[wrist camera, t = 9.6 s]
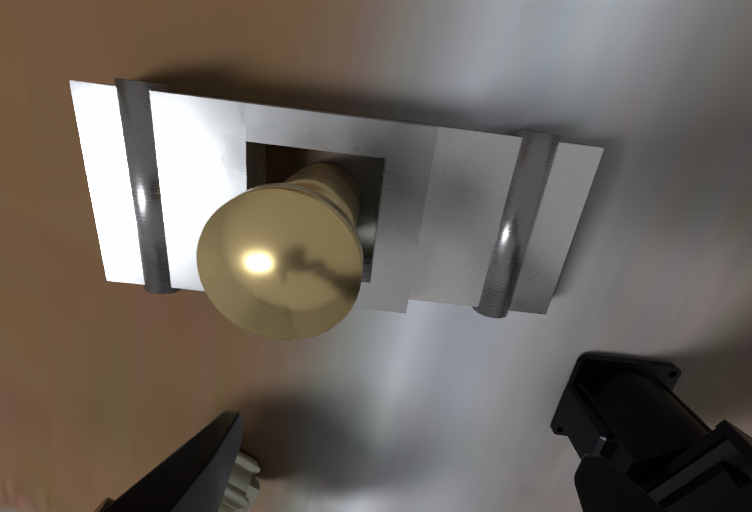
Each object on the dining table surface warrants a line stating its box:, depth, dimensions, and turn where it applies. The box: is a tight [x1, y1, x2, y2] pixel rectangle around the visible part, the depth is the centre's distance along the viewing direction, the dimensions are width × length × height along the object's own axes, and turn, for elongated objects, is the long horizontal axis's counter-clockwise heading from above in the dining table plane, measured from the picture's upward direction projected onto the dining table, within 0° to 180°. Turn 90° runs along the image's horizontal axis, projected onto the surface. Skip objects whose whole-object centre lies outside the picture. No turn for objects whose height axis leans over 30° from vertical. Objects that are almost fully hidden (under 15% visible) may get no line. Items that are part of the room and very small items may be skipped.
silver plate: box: [69, 78, 604, 318], centre depth 18 cm, size 23×10×3 cm, turn 83°
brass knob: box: [196, 163, 363, 340], centre depth 15 cm, size 5×5×9 cm
